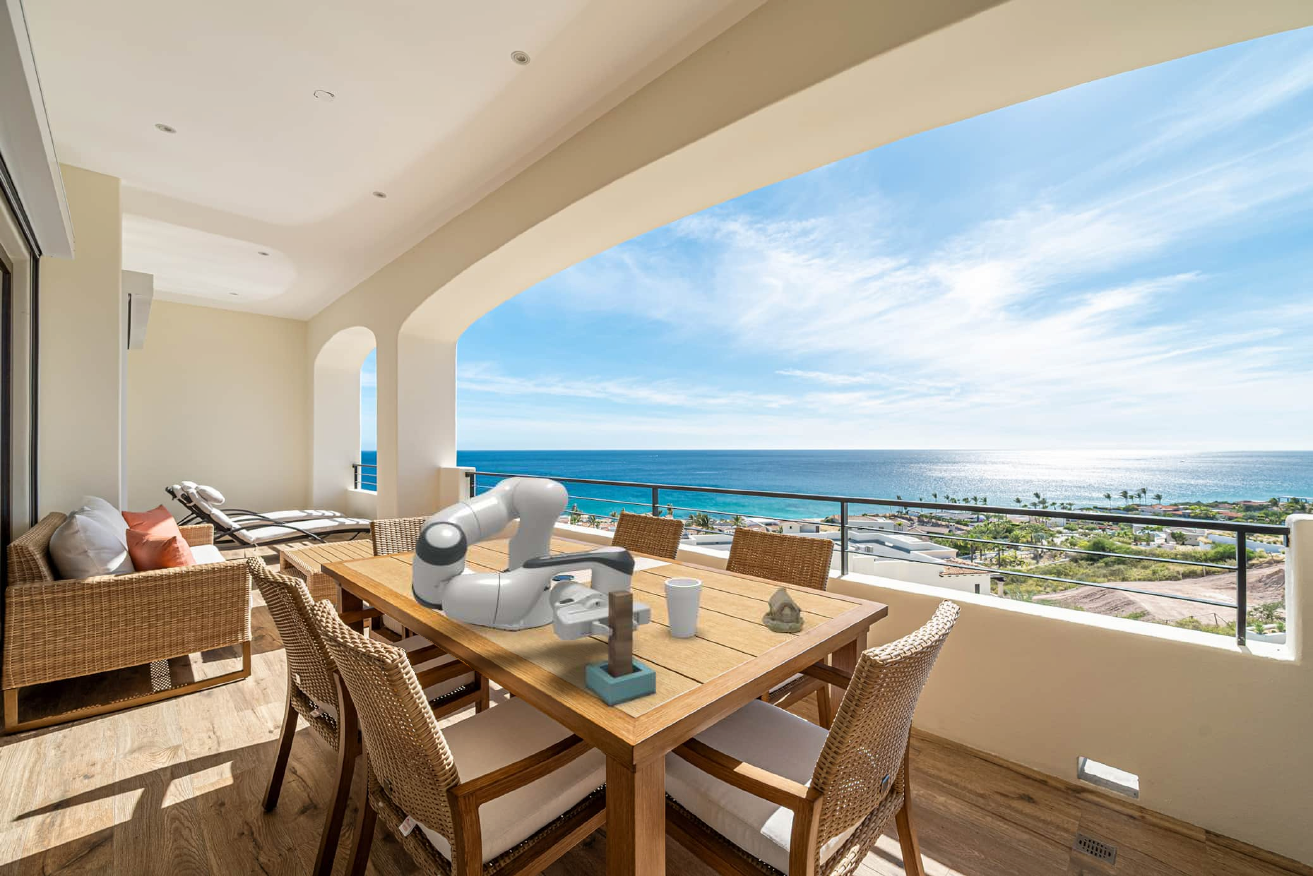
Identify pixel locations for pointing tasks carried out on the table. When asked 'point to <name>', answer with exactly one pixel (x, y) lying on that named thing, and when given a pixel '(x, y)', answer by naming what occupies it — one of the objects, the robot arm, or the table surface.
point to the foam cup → (683, 605)
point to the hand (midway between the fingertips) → (622, 630)
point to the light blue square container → (620, 682)
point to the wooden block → (620, 633)
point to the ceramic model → (783, 613)
